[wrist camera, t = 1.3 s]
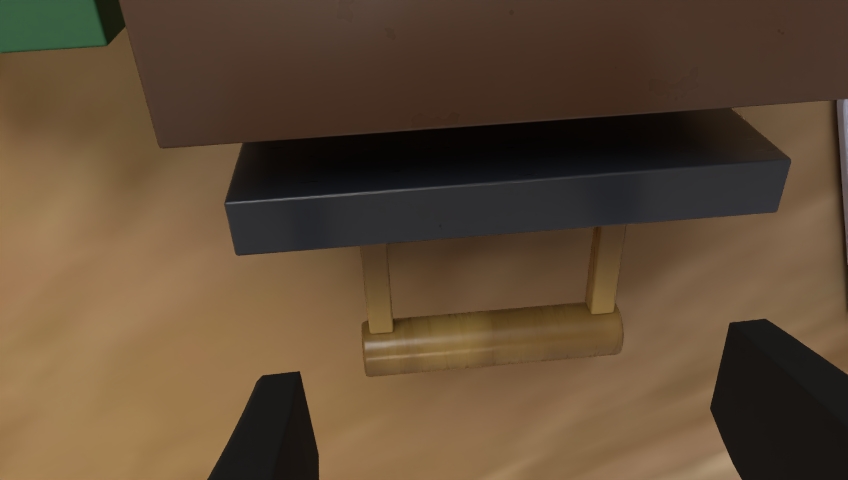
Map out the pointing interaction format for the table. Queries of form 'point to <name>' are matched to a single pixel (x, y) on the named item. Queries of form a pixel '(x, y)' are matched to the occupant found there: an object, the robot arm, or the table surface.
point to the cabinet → (469, 62)
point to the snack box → (58, 24)
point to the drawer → (498, 214)
